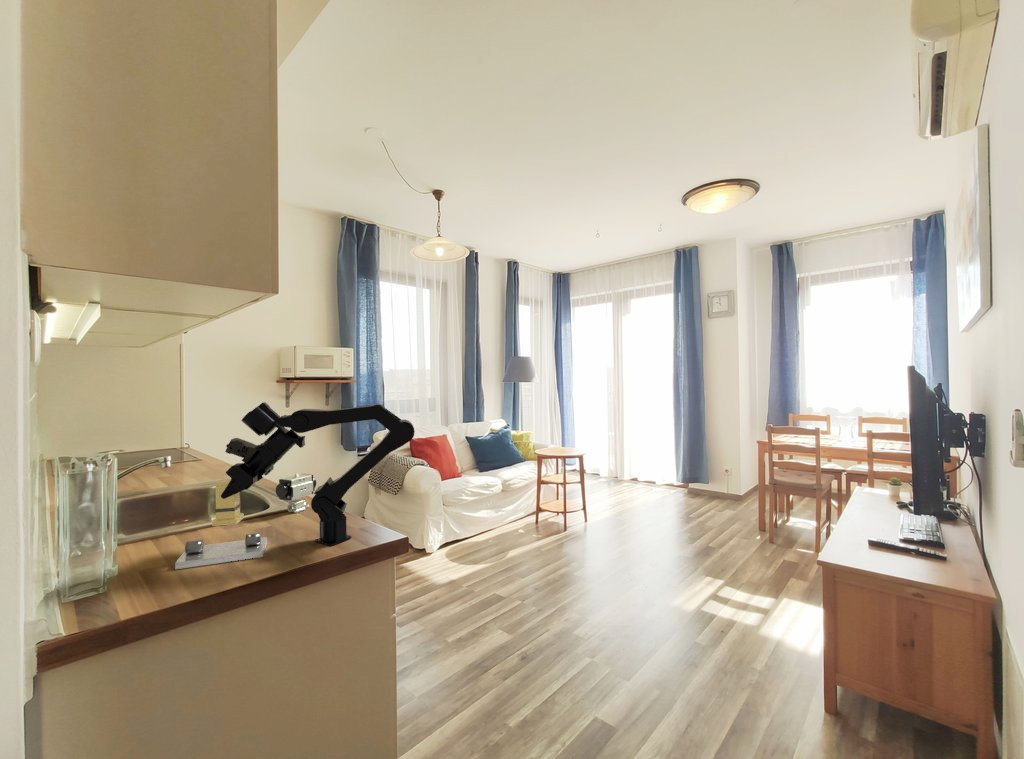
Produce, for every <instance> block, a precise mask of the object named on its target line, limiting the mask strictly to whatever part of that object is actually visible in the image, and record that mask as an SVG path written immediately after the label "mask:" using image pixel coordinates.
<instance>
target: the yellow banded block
mask: <svg viewBox="0 0 1024 759" xmlns="http://www.w3.org/2000/svg"><path fill="white" fill-rule="evenodd" d="M230 481H231V479H222V480H219V481H218V482H217V483H215V509H214V510H215V511H214V512H215V519H213V520H212V521H211V525H212V527H216V526H219V527H221V526H230V525H231V526H232V525H238V524H239V523H240V522H241V521H242V520H243V519H244V517H245V515H244V512H241V505H242V504H241V492H238V493H236V494H234V495H232V496H230V497H227V498H225V499H223V498H222V497H221V494H222V493H223V491H224V490H225V488H226V487H227V485H228V484H229V482H230Z"/></svg>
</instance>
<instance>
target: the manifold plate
mask: <svg viewBox="0 0 1024 759" xmlns="http://www.w3.org/2000/svg"><path fill="white" fill-rule="evenodd" d="M204 542H205V541H204V539H199V540H198V539H197V540H191V541H189V540H188V541H186V543H185V545H184V546H185V547H184V551H183V553H182V554H181V555H180V556H179V557H178V559H177V560H176V561H175V564H174V568H175V570H182V569H188V568H195V567H203V566H210V565H215V564H216V565H217V564H223V563H231V561H232V562H237V561H238V560H239V561H245V559H246V560H252V558H253V559H259V558H263V557H264V554H265V550H266V548H267V545H268V536H263V537H262V533H261V532H255V533H253V532H252V533H247V534H245V539H242V540H241V539H240V540H234V541H225V542H218V543H210V544H204Z"/></svg>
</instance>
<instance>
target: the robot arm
mask: <svg viewBox="0 0 1024 759" xmlns="http://www.w3.org/2000/svg"><path fill="white" fill-rule="evenodd" d="M370 420H371V421H372V420H375V421H377V422H378V423H379V424H380V425H382V426H383V427H384V428H386V429H387V430H388V432H387V433H386V434H385V435H384V437H383V438H382V439H381V441H379V443H377V444H376V445H375V446H374V447H373V448H372V449H370V450H369V451H368V452H367V453H366V454H365V455H364V456H362V458H360V459H359V460H358V461H357V462H356V463H354V464H353V465H352V466H351V467H350V468H349V469H347V471H346V472H344V473H343V474H342V475H341V476H340V477H338V478H336V479H334V480H333V478H332V477H331V476H329V477H328V479H327V480H326V481H325V482H324V483H323V484H322V485H320V486H318V487H317V488H316V490H315V491H313V494H314V495H313V497H312V499H311V500H310V501H311V502H310V508H311V509H312V511H313V512H314V513H315V514H317V515H318V518H319V538H315V539H314V542H316V543H319V544H324V545H327V546H335V545H337V544H339V543H342V542H345V541H348V540H350V539H351V538H352V535H350V534H349V535H348V534H347V532H348V531H347V515H346V514H345V513H344V512H346V507H347V505H348V504H347V502H346V501H344V500H343V498H344V496H345V494H346V493H347V492H348V491H349V490H350V489H351V488H352V487H353V486H354V485H355V484H356V483H357V482H359V481H360V480H361V479H362V478H363V477H364V476H366V475H367V473H369V472H370V471H371V470H372V469H373V468H374V467H375V466H377V465H378V464H379V463H380V462H381V461H382V460H383V459H384V458H386V457H387V456H388V455H389V454H391V452H394V451H395V450H398V449H400V448H401V447H403V446H404V445H406V444H407V443H410V442H411V441H412V439H413V438H414V436H415V432H416V431H415V427H414V425H413V423H412V422H411V421H410V420H408V419H401V418H400V417H399V416H397V415H396V414H394V413H393V412H392V411H390V409H389V410H388V409H387V408H386V406H384V405H383V404H381V403H376V404H373V405H372V404H371V405H364V406H356V407H347V408H339V409H338V408H337V409H316V408H302V409H298V410H296V411H294V412H292V413H291V414H289V415H288V414H284V415H281V416H280V415H279V414H278V412H276V411H275V410H274V409H273V408H271V406H270V405H269V403H267V402H265V401H264V402H261V403H260V404H259V405H257V406H256V407H255V408H253V409H252V410H251V411H248V412H247V413H246V414H245V415H244V416H243V417H242V419H241V422H242V423H243V424H244V425H245V426H247V427H248V428H249V429H250V430H251V431H253V433H255V434H256V435H257V436H259V437H261V436H263V435H264V436H265V437H267V436H268V437H267V439H265V441H263V442H262V443H260V444H254V443H253V442H249V441H247V440H244V439H242V438H239V437H234V438H231V439H230V441H229V443H227V444H226V446H225V447H226V449H225V453H226V454H229V455H234V456H238V457H239V458H242V459H241V461H242V463H241V462H239V463H235V464H233V465H231V467H229V468H228V469H227V470H226V471H225V474H226V475H227V476H228V477H229V478H231V479H230V480H231V481H230V482H229V484H228V485H227V487H226V488H225V490H224V491H223V493H222V494H221V497H222V498H223V499H225V498H227V497H230V496H232V495H234V494H236V493H238V492H240V493H241V492H242V491H245V490H247V491H248V490H249V489H250V488H251V487H253V486H254V484H255V483H256V482H259V481H261V480H262V479H264V477H263V476H265V477H266V476H267V475H268V474H270V473H271V472H272V471H273V470H274V467H275V464H277V463H278V462H279V461H280V460H281V459H282V458H283V456H285V455H286V454H287V453H288V452H289V451H290V450H291V449H292V448H293V447H294V446H295V445H296V446H298V447H299V448H300V449H302V448H303V447H305V446H306V442H305V440H306V435H299V434H305V433H308V432H311V431H313V430H317V429H321V428H323V427H327V426H330V425H331V426H332V425H337V424H338V425H340V424H345V423H346V424H348V423H354V422H363V421H370ZM276 428H277V429H276ZM287 428H290V429H287ZM275 429H276V430H275ZM274 430H275V431H274ZM273 431H274V432H273ZM272 432H273V433H272ZM271 433H272V434H271ZM270 434H271V435H270ZM269 435H270V436H269Z"/></svg>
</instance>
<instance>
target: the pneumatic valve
mask: <svg viewBox="0 0 1024 759" xmlns="http://www.w3.org/2000/svg"><path fill="white" fill-rule="evenodd" d="M316 486H317V479H316V478H315V477H314V474H309V473H307V474H306V473H301V474H299V473H294V475H293V476H287V477H284V478H280V479H278V484H277V485H276V487H275V495H276V497H278V499H279V500H283V501H288V503H287V504H288V505H287V506H286V507H287V508H286V509H287V511H288V512H289V513H294V514H297V513H301V512H304V511H305V510H306V505H307V502H306V499H304V497H307V496H310V495H313V494H314V492H315V491H316V490H315V488H316ZM303 510H304V511H303Z"/></svg>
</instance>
